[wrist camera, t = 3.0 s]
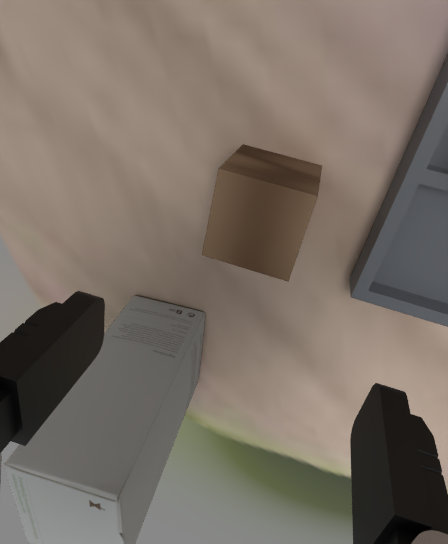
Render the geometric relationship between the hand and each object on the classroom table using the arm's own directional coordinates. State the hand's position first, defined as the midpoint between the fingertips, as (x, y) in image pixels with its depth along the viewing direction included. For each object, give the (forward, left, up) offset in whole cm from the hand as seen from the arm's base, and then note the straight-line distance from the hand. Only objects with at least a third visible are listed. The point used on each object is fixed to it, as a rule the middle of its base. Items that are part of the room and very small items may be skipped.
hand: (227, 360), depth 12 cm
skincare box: (-6, -15, -17) cm, 23 cm away
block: (-1, 0, -16) cm, 16 cm away
